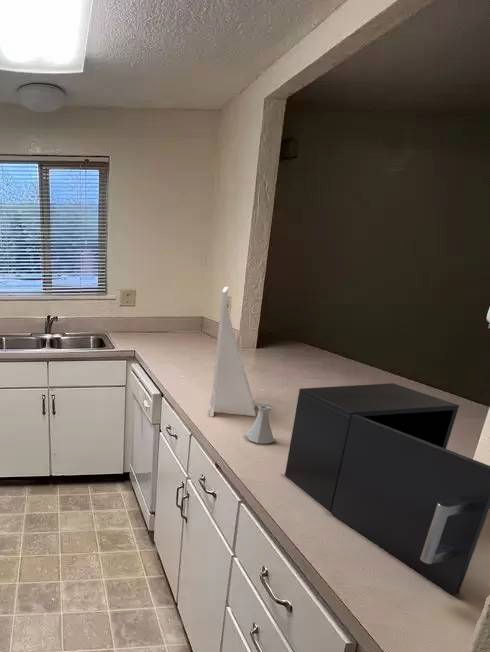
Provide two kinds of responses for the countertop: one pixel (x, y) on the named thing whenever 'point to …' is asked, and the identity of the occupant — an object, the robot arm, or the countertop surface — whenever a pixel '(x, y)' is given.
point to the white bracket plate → (229, 371)
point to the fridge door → (413, 499)
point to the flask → (261, 427)
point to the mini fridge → (334, 422)
